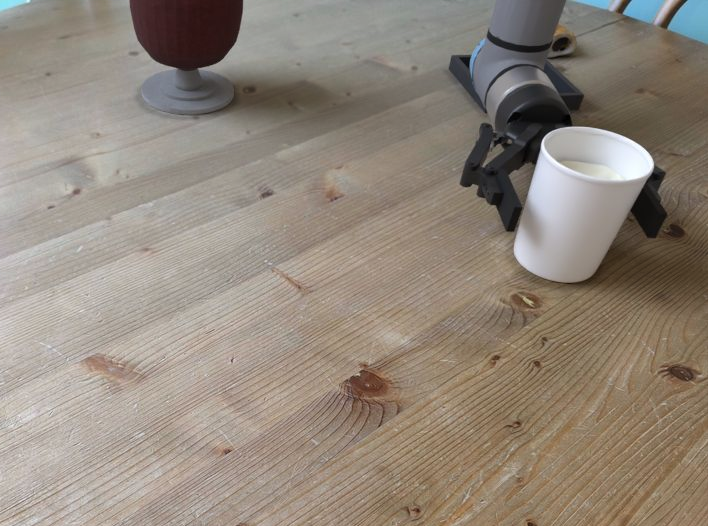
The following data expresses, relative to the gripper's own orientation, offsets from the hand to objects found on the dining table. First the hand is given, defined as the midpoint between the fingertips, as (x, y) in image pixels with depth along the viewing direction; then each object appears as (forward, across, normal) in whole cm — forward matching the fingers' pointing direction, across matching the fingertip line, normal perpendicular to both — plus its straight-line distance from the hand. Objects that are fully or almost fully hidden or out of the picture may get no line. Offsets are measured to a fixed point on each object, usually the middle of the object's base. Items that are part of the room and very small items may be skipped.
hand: (586, 223), depth 69 cm
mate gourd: (-36, +39, -7) cm, 54 cm away
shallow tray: (-43, -5, -6) cm, 44 cm away
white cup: (-3, 0, -7) cm, 7 cm away
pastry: (-57, -14, -7) cm, 59 cm away
